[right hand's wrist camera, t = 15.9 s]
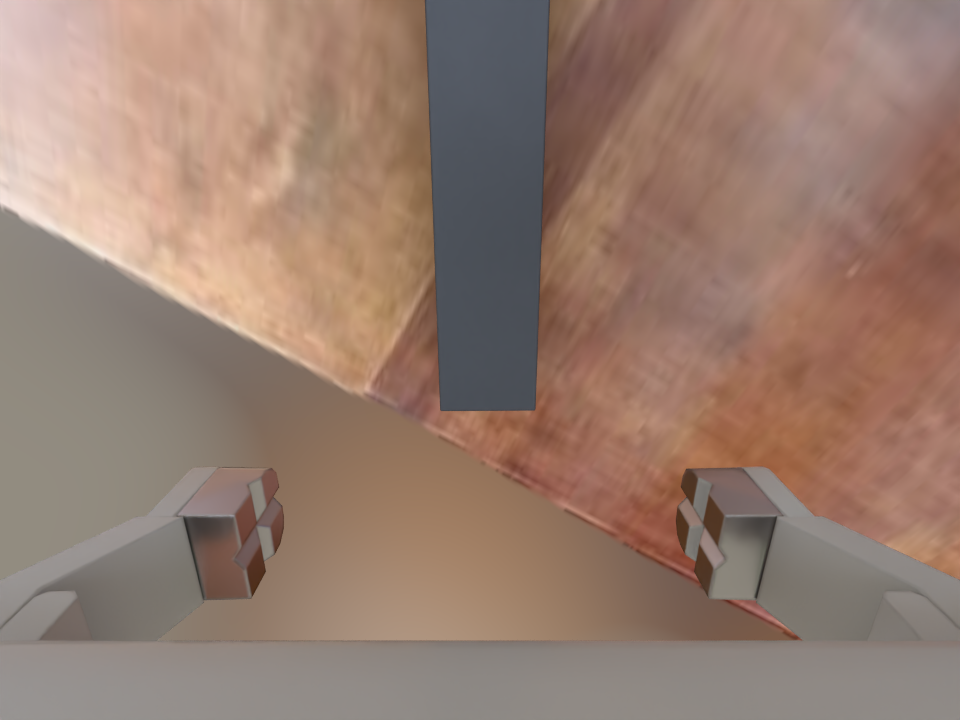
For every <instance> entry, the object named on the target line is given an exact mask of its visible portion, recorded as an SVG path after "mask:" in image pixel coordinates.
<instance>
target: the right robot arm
mask: <svg viewBox="0 0 960 720" xmlns="http://www.w3.org/2000/svg"><path fill="white" fill-rule="evenodd" d="M278 488H279V484H278V479H277V474H276V472H275V471H274V470H273V469H272V468H248V467H222V468H221V467H196V468H192V469H191V470H190V471H189V472H188V473H187V474H186V475H185V476H184V477H183V478H182V479H181V480H180V481H179V482H178V483H177V484H176V485H175V486H174V487H173V488H172V489H171V490H170V491H169V492H168V493H167V494H166V495H165V497H164V498H163V499H162V500H161V501H160V502H159V503H158V504H157V505H156V506H155V507H154V508H153V509H152V510H151V511H150V512H149V513H148V514H147V515H146V516H142V517H135V518H133V519H131V520H128V521H126V522H124V523H122V524H120V525H118V526H115V527H113V528H111V529H109V530H107V531H105V532H102V533H100V534H98V535H96V536H94V537H92V538H89V539H87V540H85V541H83V542H81V543H79V544H77V545H75V546H72V547H70V548H68V549H66V550H64V551H61V552H59V553H57V554H55V555H53V556H51V557H49V558H46V559H44V560H42V561H40V562H38V563H36V564H33V565H31V566H29V567H27V568H25V569H23V570H21V571H19V572H16V573H14V574H12V575H10V576H8V577H5V578H3V579H1V580H0V720H960V580H959V579H956V578H954V577H952V576H950V575H948V574H946V573H943V572H941V571H939V570H937V569H935V568H933V567H931V566H928V565H926V564H924V563H922V562H920V561H918V560H916V559H913V558H911V557H909V556H907V555H905V554H903V553H900V552H898V551H896V550H894V549H892V548H890V547H888V546H885V545H883V544H881V543H879V542H877V541H875V540H873V539H870V538H868V537H866V536H864V535H862V534H860V533H858V532H855V531H853V530H851V529H849V528H847V527H845V526H842V525H840V524H838V523H836V522H834V521H832V520H830V519H827V518H825V517H821V516H814V515H813V514H812V513H811V512H810V511H809V510H808V509H807V508H806V507H805V506H804V505H803V504H802V503H801V502H800V501H799V500H798V499H797V497H796V496H795V495H794V494H793V493H792V492H791V491H790V490H789V489H788V488H787V487H786V486H785V485H784V484H783V483H782V482H781V481H780V480H779V479H778V478H777V477H776V476H775V475H774V474H773V472H772V471H771V470H770V469H768V468H765V467H763V466H762V467H737V468H701V469H686V470H685V472H684V475H683V478H682V483H681V488H682V490H683V491H684V493H685V495H686V496H687V497H686V498H685V499H684V500H683V501H682V502H681V503H680V504H679V505H678V508H677V516H676V526H677V535H678V539H679V542H680V545H681V547H682V549H683V551H684V553H685V555H687V556H688V557H690V558H691V559H693V560H694V561H696V564H695V570H694V572H695V574H696V576H697V578H698V580H699V581H700V583H701V585H702V587H703V589H704V591H705V593H706V594H707V596H708V598H709V599H731V600H756V603H757V604H759V605H760V606H761V607H762V608H764V609H765V610H766V611H767V612H769V613H770V614H771V615H772V616H774V617H775V618H776V619H777V620H779V621H780V622H781V623H782V624H783V625H785V626H786V627H787V628H788V629H790V630H791V631H792V632H793V633H795V634H796V635H797V636H798V637H800V638H801V639H802V640H803V641H157V640H158V639H159V638H160V637H162V636H163V635H164V634H165V633H167V632H168V631H169V630H170V629H172V628H173V627H174V626H175V625H177V624H178V623H179V622H180V621H182V620H183V619H184V618H185V617H187V616H188V615H189V614H190V613H192V612H193V611H194V610H195V609H197V608H198V607H199V606H200V605H201V604H203V603H204V600H228V599H251V598H252V596H253V595H254V593H255V591H256V589H257V587H258V585H259V583H260V581H261V580H262V578H263V576H264V574H265V572H266V570H265V564H264V561H266V560H267V559H269V558H270V557H272V556H273V555H275V553H276V551H277V549H278V547H279V545H280V542H281V538H282V534H283V529H284V515H283V508H282V505H281V504H280V503H279V502H278V501H277V500H276V499H275V498H274V497H273V496H274V495H275V493H276V491H277V490H278Z"/></svg>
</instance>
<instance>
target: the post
mask: <svg viewBox="0 0 960 720" xmlns="http://www.w3.org/2000/svg"><path fill="white" fill-rule="evenodd" d="M549 8H550V0H425V13H426V40H427V67H428V93H429V120H430V147H431V174H432V200H433V227H434V254H435V281H436V307H437V334H438V361H439V388H440V410H441V411H520V410H535V406H536V378H537V349H538V321H539V292H540V264H541V235H542V207H543V179H544V150H545V122H546V93H547V65H548V36H549Z"/></svg>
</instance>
